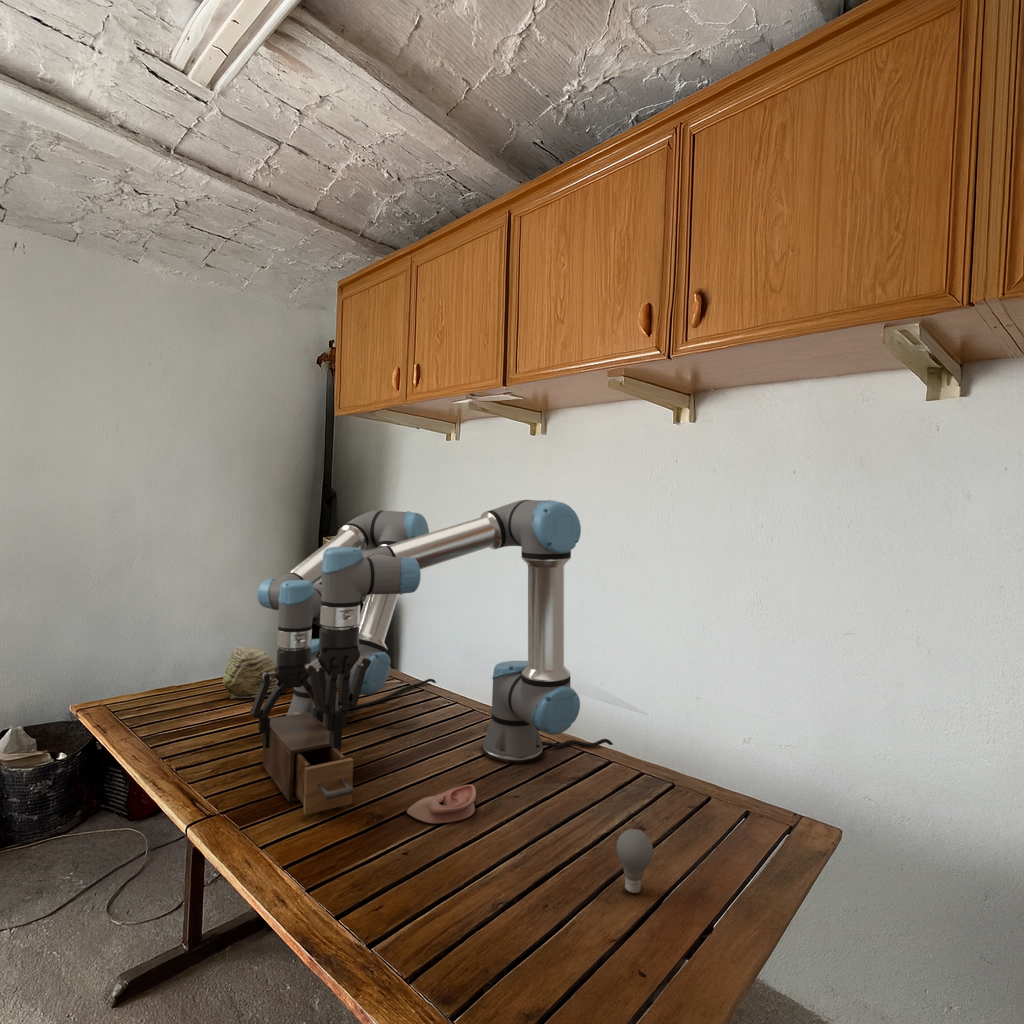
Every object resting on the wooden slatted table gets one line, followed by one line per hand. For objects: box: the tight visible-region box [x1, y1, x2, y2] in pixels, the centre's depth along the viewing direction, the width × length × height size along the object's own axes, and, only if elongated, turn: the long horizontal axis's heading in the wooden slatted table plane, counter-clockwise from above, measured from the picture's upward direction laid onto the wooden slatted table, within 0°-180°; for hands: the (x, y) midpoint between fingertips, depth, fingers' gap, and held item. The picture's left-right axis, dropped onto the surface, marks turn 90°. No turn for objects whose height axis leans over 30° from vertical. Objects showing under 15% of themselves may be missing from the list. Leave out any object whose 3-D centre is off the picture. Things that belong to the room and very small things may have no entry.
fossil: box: [222, 646, 287, 699], centre depth 198 cm, size 9×18×15 cm, turn 132°
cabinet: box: [262, 712, 342, 803], centre depth 142 cm, size 21×11×11 cm, turn 36°
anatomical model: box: [406, 784, 477, 824], centre depth 130 cm, size 13×4×12 cm
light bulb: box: [615, 828, 654, 894], centre depth 106 cm, size 6×6×10 cm
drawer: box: [293, 746, 354, 816], centre depth 132 cm, size 26×10×9 cm, turn 36°
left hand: (291, 741), depth 148 cm, fingers closed on cabinet, 11 cm apart
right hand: (335, 745), depth 125 cm, fingers closed
